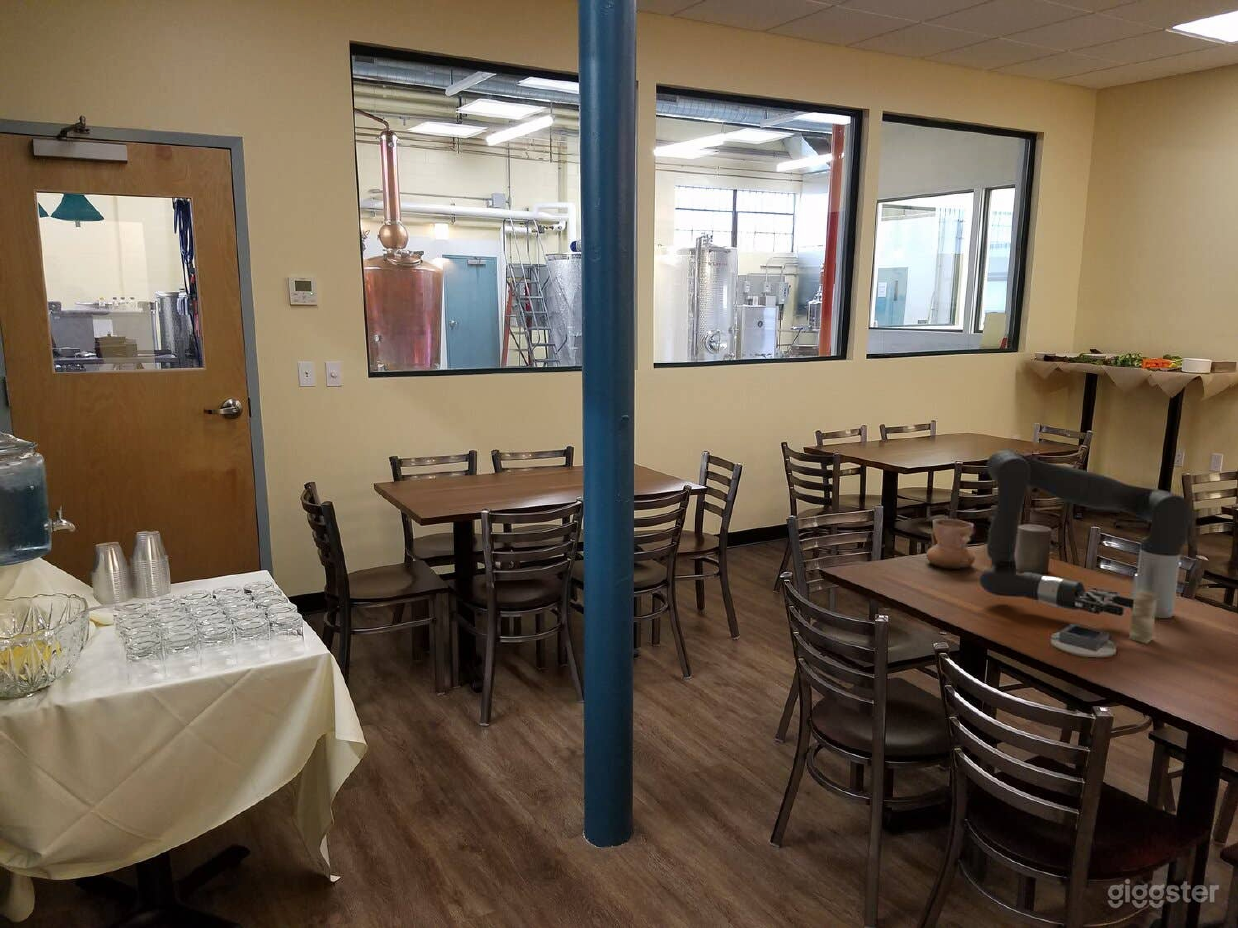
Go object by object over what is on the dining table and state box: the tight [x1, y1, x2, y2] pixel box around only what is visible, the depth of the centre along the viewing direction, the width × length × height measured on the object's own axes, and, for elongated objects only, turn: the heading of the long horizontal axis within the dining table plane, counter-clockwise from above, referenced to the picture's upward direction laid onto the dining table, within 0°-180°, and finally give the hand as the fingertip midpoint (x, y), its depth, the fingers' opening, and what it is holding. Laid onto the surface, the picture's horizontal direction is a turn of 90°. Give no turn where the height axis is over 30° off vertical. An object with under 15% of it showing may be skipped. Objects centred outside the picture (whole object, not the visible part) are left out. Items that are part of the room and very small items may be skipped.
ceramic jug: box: [925, 518, 976, 570], centre depth 275 cm, size 18×14×14 cm
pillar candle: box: [1015, 523, 1053, 575], centre depth 271 cm, size 10×10×15 cm
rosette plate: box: [1050, 623, 1117, 659], centre depth 209 cm, size 14×14×4 cm
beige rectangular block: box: [1129, 589, 1158, 644], centre depth 214 cm, size 4×4×12 cm
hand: (1128, 607), depth 216 cm, fingers open, 8 cm apart
